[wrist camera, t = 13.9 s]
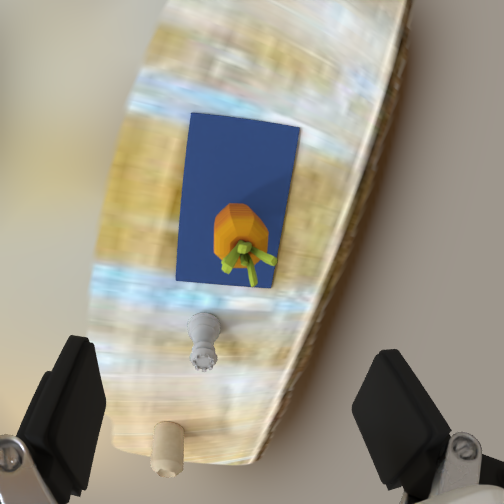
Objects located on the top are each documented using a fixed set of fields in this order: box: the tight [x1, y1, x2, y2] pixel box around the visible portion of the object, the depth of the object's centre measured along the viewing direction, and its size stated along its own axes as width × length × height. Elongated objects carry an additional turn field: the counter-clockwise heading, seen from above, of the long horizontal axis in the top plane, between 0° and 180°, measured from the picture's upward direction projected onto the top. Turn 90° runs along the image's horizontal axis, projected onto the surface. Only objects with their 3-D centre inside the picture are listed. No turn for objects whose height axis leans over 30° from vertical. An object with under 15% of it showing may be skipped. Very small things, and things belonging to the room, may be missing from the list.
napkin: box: [176, 113, 300, 288], centre depth 37 cm, size 20×12×1 cm, turn 172°
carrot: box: [214, 203, 278, 287], centre depth 30 cm, size 5×5×15 cm
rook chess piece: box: [187, 313, 220, 372], centre depth 39 cm, size 4×4×8 cm
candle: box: [151, 422, 184, 478], centre depth 46 cm, size 6×6×10 cm
